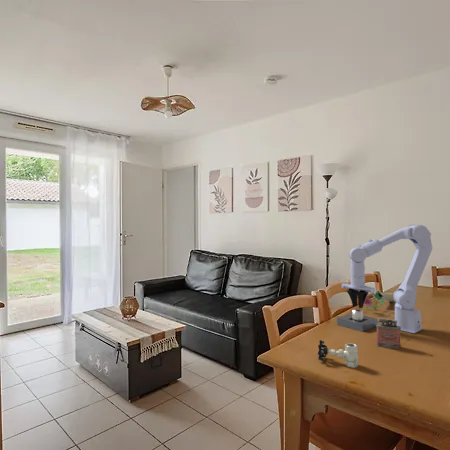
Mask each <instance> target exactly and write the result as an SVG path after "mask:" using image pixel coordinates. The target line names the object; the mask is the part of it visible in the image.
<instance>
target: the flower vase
mask: <svg viewBox="0 0 450 450" xmlns="http://www.w3.org/2000/svg"><path fill="white" fill-rule="evenodd" d="M370 294H371V295H372V296H370V297H369V296H368V295H367V296H366V298H365V301H364V305H365V306H366V310H367V311H368V310H370V309H371V307H372V308H373V310H375V311H377V307H376V305H374V301H375V300H376V301H377V306H378V308H380V307H381V304H382V305H383V304H386V303H385V301H387V302H390V303H393V302H395V300H394V299H393V294H394V292H393V293H391V292H390V293H389V292H388V293H387V292H386V293H385V292H383V291H381V290H380V289H378V290H375V293H370ZM357 299H358V295H357Z"/></svg>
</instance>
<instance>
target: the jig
mask: <svg viewBox="0 0 450 450" xmlns="http://www.w3.org/2000/svg"><path fill="white" fill-rule="evenodd" d="M378 319H379V318H375V317H371V316H368V315H363V322H357V321H353V320H352V312H351V313H348V314H345V315H342V316H339V317H337V318H336V325H338V326H340V325H341V327H344V328H348V329H352V330H355V331H359V332H361V333H362V332H363V333H364V332H366V331H368V330H370V329H373V328H375V327H376V324H379V322H378ZM376 328H377V327H376Z"/></svg>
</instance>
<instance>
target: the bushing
mask: <svg viewBox="0 0 450 450" xmlns="http://www.w3.org/2000/svg"><path fill="white" fill-rule="evenodd" d="M351 313H352V320H353V321H357V322H363V316H364V310H363V309H362V308H352V309H351Z"/></svg>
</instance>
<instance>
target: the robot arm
mask: <svg viewBox="0 0 450 450" xmlns="http://www.w3.org/2000/svg"><path fill="white" fill-rule="evenodd" d="M431 236H432V233H431V232H430V230H429V229H428V228H427V226H425V225H422V224H417V225H416V224H409V225H407V226H405V227H401V228H399V229H397V230H396V231H394V232H391V233H390V234H388V235H386V236H384V237H382V238H380V239H376V238H373V239H372V238H371V239H368V241H367V242H365V243H364V244H359V245H358V246H357V247H353V248H351V250H350V251H349V253H348V256H349V258H350V268H349V269H350V270H349V271H350V283H346V282H343V283H341V289H347V290H346V292H347V294H348V296H349V297H350V301H351V304H352V307H354V308H355V307H357V306H358V309H362V308H364V305H365V304H364V301H365V298H366V296H368V295H369V293H370V294H371V293H375V292H376V288H375V287H371V286H367V285H366V277H365V276H366V273H365V270H366V268H365V267H366V266H365V260H366V259H367V258H369V257H371V256H374V255H376V254H379V253H381V252H382V250H383V248H384V247H386V246H389V245H390V244H392V243H395V242H397V241H399V240H409V241H411V242H412V244H413V245H414V247H415V248H416V250H415V252H414V255H413V257H412V260H411V262H410V264H409V267H408V269H407V272H406V274H405V276H404V280H403V281H402V283H401V284H400V285H399V286H398V288H397V290H395V291H394V292H393V299H394V300H395V301H394V302H395V303H394V320H397V326H400V327H401V329H400V331H401V332H403V331H404V332H406V333H410V334H416V333H418V332H420V331H422V330H423V328H422V327H423V326H422V324H423V323H422V312H421V310H419V309H416V308H415V306H416V305H417V295H418V292H417V287H418V285H419V283H420V280H421V278H422V275H423V273H424V271H425V267H426V266H427V263H428V260H429V258H430V256H431V254H432V251H433V244H432V239H431ZM357 295H358V298H357Z"/></svg>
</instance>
